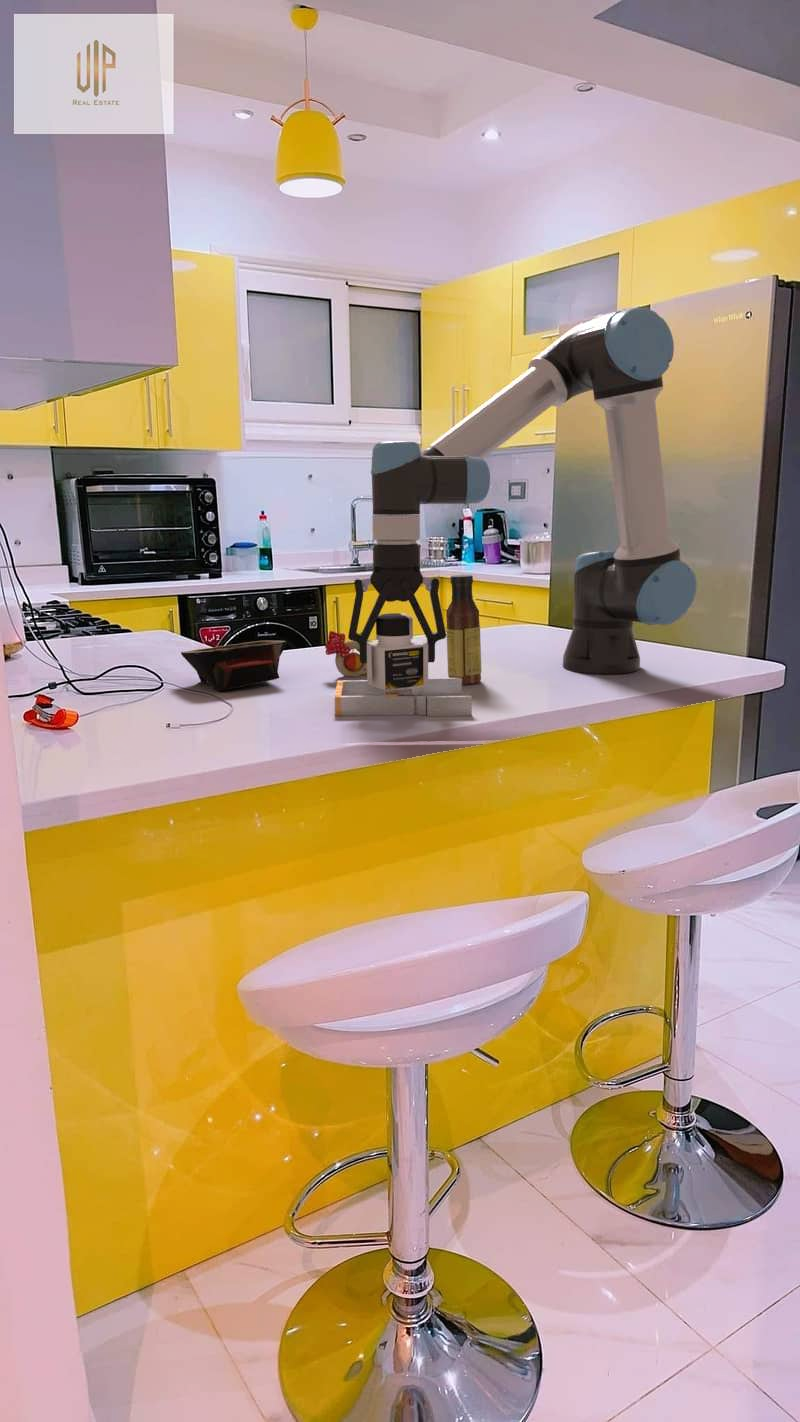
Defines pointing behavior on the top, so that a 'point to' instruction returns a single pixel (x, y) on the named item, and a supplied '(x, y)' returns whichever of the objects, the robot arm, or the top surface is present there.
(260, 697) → the top surface
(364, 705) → the keyhole rails
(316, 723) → the top surface
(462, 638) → the sauce bottle
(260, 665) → the baking dish
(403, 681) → the medicine bottle
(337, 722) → the top surface
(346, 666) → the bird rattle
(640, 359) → the robot arm
